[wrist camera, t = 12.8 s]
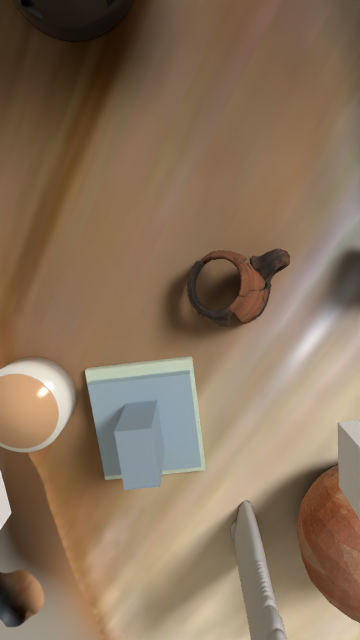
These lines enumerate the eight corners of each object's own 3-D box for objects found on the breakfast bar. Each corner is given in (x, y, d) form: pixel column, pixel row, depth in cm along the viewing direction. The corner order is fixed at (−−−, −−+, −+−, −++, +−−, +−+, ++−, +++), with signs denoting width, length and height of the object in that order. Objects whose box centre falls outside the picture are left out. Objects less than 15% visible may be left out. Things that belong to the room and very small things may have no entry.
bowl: (-12, 361, 44) (-37, 374, 39) (69, 351, 43) (53, 363, 38) (6, 436, 46) (-16, 457, 41) (83, 428, 45) (71, 449, 40)
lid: (90, 381, 43) (67, 410, 34) (189, 369, 42) (190, 397, 34) (107, 469, 45) (89, 517, 37) (201, 460, 45) (204, 506, 36)
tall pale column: (232, 497, 47) (270, 704, 25) (260, 498, 47) (324, 707, 25) (228, 560, 49) (261, 802, 27) (256, 561, 49) (311, 805, 27)
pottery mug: (233, 340, 43) (206, 342, 36) (197, 284, 46) (165, 275, 39) (313, 284, 38) (301, 273, 31) (267, 225, 41) (247, 202, 34)
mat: (87, 368, 43) (84, 370, 42) (191, 356, 43) (192, 358, 42) (107, 475, 46) (105, 479, 45) (205, 465, 46) (205, 470, 45)
